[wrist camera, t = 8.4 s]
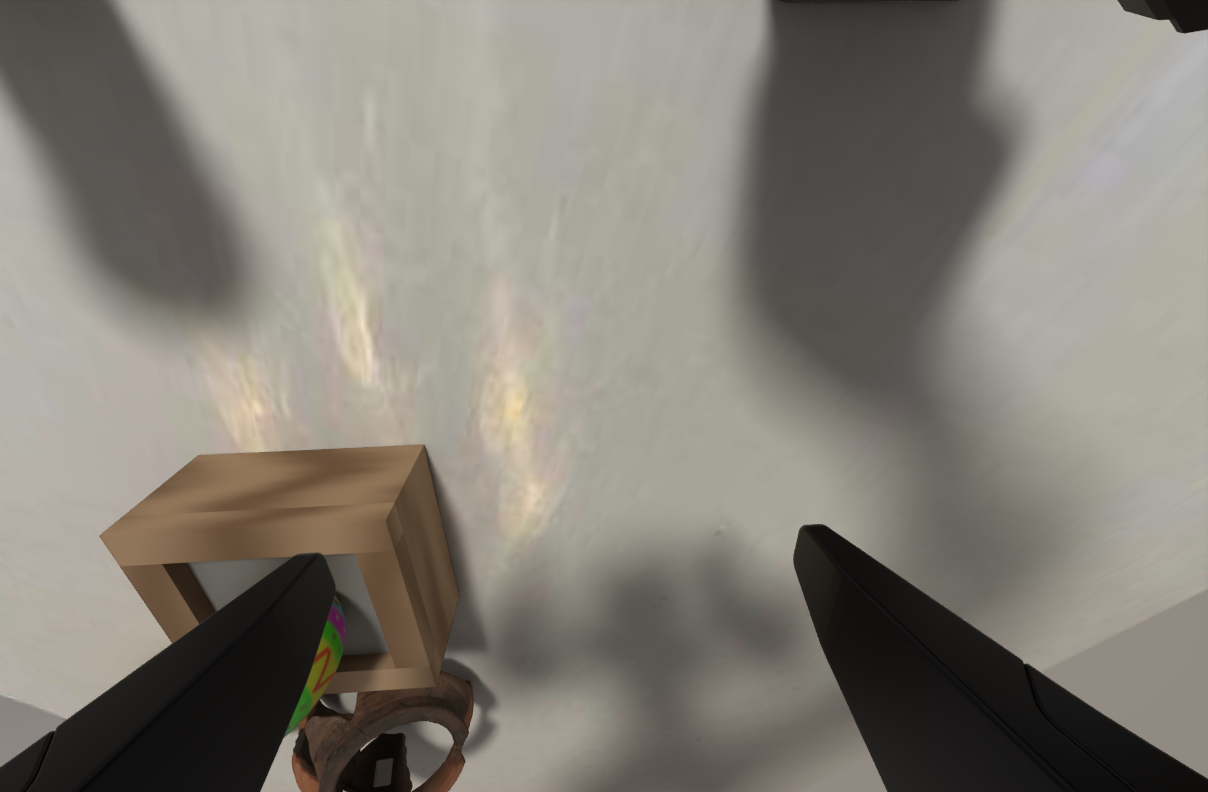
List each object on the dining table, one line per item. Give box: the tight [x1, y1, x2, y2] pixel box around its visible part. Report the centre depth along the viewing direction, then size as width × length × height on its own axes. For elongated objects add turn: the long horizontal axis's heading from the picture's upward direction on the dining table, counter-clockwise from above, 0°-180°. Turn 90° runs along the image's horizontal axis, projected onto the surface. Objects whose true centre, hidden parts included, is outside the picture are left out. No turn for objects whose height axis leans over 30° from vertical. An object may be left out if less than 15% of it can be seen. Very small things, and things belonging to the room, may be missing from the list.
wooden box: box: [99, 445, 459, 694], centre depth 22 cm, size 10×10×5 cm
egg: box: [230, 595, 346, 737], centre depth 17 cm, size 5×5×6 cm
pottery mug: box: [292, 671, 474, 792], centre depth 28 cm, size 12×10×8 cm
